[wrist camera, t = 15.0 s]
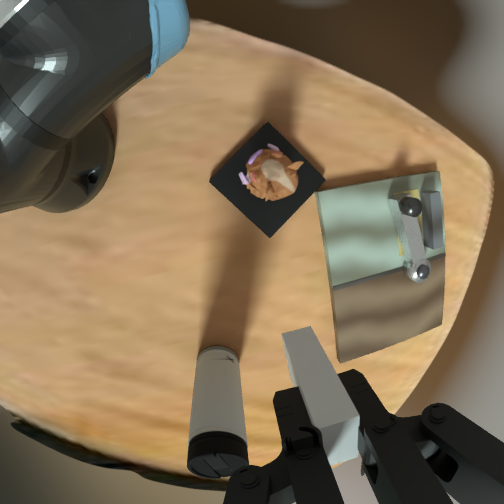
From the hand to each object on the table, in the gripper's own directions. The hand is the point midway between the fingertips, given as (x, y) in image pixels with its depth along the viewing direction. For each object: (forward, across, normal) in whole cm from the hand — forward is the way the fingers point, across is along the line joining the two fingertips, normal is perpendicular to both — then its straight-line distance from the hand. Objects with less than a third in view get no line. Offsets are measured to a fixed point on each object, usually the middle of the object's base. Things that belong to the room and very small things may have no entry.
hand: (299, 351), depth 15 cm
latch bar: (+23, +21, -3) cm, 31 cm away
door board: (+24, +19, -8) cm, 32 cm away
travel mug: (+25, -9, -16) cm, 31 cm away
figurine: (+25, +3, +8) cm, 26 cm away
